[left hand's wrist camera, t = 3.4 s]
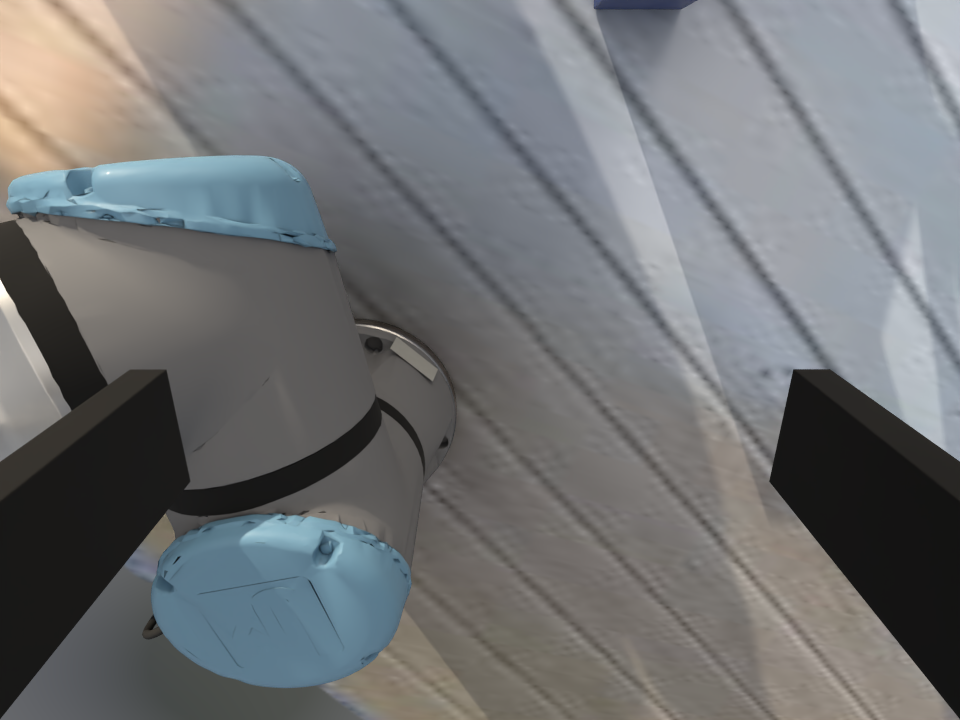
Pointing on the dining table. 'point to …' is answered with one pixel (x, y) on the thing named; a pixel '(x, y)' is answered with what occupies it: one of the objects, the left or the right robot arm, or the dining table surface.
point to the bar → (641, 4)
